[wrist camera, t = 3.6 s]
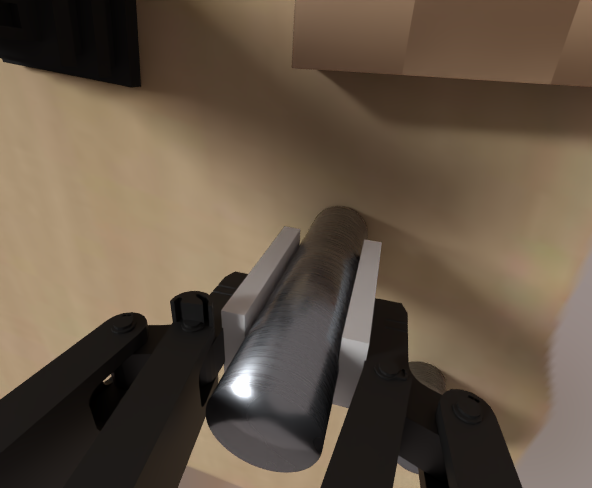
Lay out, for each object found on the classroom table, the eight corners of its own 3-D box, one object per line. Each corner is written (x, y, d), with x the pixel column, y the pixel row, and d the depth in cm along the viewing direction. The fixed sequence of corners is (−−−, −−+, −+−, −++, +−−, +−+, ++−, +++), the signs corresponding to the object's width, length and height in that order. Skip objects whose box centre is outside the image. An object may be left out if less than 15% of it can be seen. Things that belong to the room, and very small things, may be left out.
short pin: (398, 356, 22) (397, 428, 17) (450, 368, 21) (462, 445, 17) (390, 390, 23) (387, 464, 19) (438, 403, 22) (447, 482, 18)
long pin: (315, 201, 18) (203, 370, 8) (372, 212, 18) (330, 408, 8) (309, 251, 20) (206, 449, 9) (362, 262, 19) (314, 487, 9)
